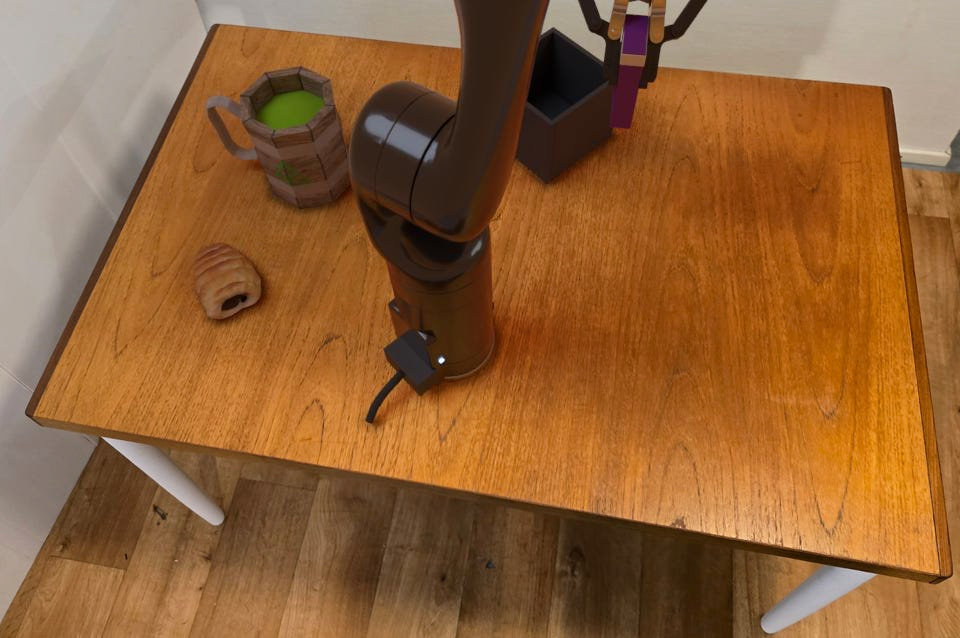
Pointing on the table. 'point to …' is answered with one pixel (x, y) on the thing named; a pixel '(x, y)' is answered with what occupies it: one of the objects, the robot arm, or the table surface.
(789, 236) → the table surface
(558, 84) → the waste bin
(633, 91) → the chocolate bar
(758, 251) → the table surface
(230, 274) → the pastry
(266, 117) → the mug
